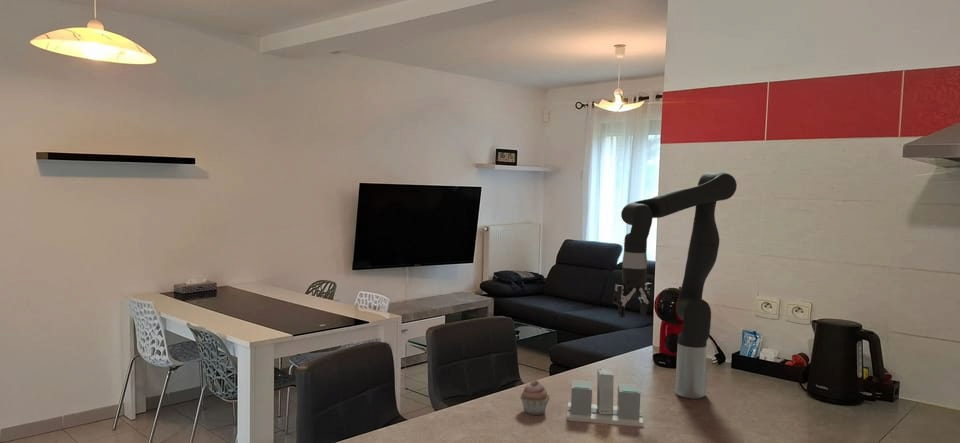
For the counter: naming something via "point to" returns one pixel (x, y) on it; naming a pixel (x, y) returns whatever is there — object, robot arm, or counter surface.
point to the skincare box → (605, 391)
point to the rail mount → (622, 413)
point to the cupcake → (534, 398)
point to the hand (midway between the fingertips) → (632, 316)
